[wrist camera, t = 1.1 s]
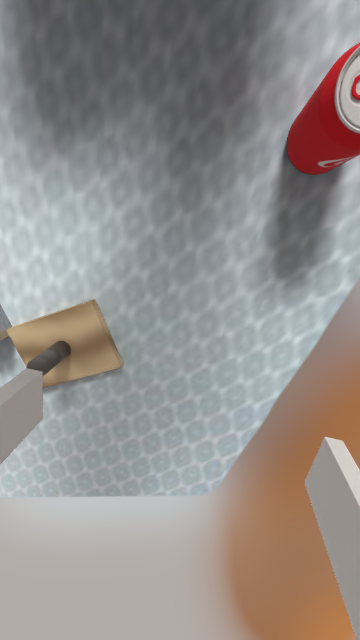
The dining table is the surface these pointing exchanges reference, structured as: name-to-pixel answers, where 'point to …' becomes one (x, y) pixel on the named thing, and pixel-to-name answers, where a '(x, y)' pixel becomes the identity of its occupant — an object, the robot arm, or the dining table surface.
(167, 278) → the dining table surface
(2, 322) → the grey hollow square block
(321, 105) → the beverage can
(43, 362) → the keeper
